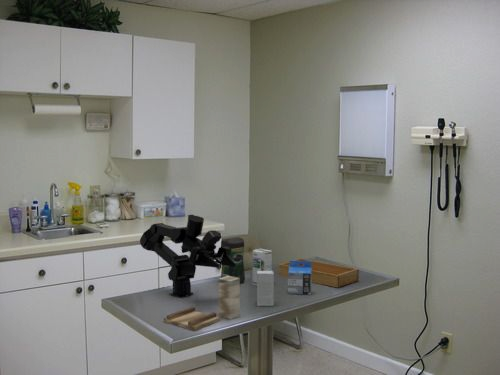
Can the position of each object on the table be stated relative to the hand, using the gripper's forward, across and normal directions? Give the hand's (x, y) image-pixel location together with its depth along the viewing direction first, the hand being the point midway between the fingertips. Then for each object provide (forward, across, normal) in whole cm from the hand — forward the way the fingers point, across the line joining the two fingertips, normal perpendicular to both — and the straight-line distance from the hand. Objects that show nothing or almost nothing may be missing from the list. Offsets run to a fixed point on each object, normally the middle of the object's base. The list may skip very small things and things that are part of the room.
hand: (227, 265), depth 203 cm
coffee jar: (-16, +31, +17) cm, 39 cm away
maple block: (+10, -3, +14) cm, 17 cm away
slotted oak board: (+5, -15, +17) cm, 23 cm away
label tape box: (+12, +35, +7) cm, 38 cm away
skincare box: (+11, +15, +11) cm, 21 cm away
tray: (+5, +59, +6) cm, 59 cm away
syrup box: (-5, +35, +12) cm, 37 cm away
